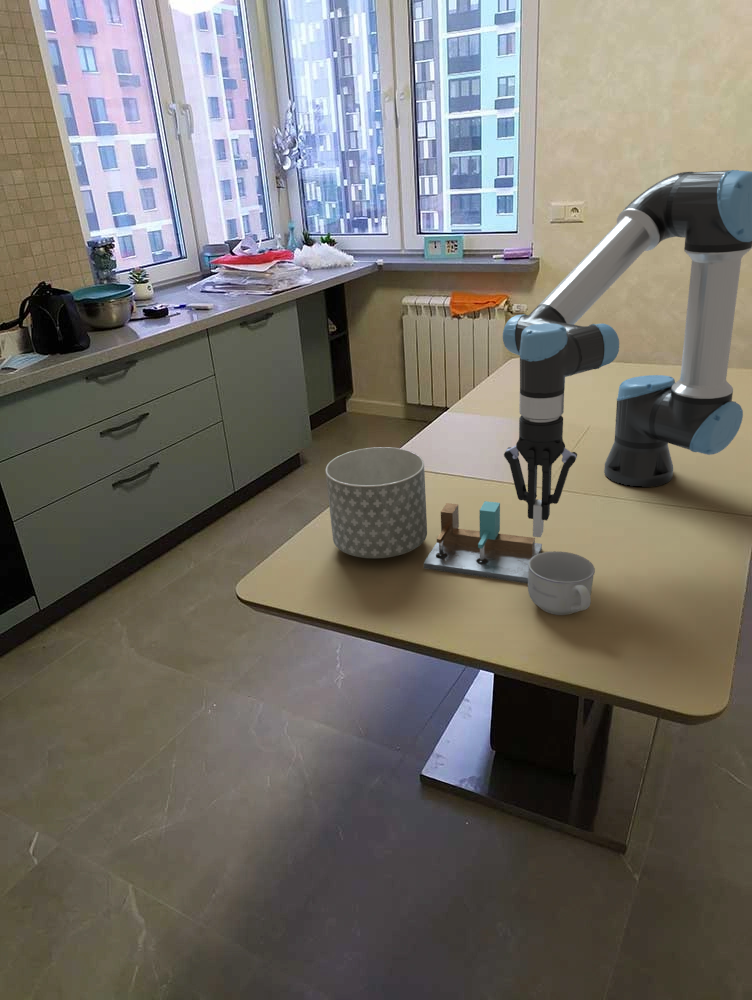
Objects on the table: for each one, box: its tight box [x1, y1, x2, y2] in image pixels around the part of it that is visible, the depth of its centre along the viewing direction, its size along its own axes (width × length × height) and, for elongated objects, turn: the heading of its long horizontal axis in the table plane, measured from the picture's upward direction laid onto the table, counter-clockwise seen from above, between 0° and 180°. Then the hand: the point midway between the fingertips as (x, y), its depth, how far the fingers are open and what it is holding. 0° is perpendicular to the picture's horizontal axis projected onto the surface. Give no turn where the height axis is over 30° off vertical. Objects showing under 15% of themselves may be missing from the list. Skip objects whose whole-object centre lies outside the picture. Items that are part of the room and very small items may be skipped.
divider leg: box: [478, 500, 501, 560], centre depth 137 cm, size 3×9×8 cm, turn 158°
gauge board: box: [423, 502, 543, 584], centre depth 137 cm, size 20×13×9 cm, turn 68°
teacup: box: [527, 550, 596, 616], centre depth 121 cm, size 14×11×8 cm
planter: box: [325, 446, 428, 559], centre depth 142 cm, size 19×19×18 cm
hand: (538, 533), depth 136 cm, fingers closed
